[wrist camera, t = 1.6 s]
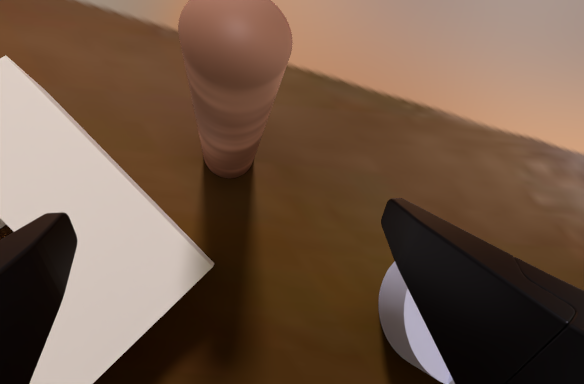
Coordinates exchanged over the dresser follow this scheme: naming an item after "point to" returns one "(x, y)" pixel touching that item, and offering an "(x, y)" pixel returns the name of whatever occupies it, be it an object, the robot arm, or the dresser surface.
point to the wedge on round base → (408, 327)
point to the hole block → (89, 233)
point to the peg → (233, 75)
